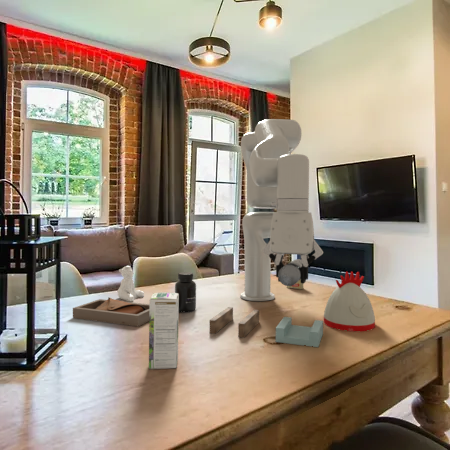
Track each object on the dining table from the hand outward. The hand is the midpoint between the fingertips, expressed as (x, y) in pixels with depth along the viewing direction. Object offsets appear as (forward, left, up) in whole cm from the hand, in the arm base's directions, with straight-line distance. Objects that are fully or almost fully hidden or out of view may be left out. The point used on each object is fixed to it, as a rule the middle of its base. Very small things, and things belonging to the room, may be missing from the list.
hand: (292, 280), depth 90 cm
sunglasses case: (-3, -54, -15) cm, 56 cm away
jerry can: (-64, -11, -15) cm, 66 cm away
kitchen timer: (-21, +12, -15) cm, 29 cm away
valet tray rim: (-3, -54, -15) cm, 56 cm away
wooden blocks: (-6, -17, -15) cm, 23 cm away
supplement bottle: (-17, -38, -15) cm, 44 cm away
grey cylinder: (-2, 0, 0) cm, 2 cm away
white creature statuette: (-24, -65, -15) cm, 71 cm away
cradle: (-4, +1, -15) cm, 16 cm away
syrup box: (+22, -23, -15) cm, 35 cm away
